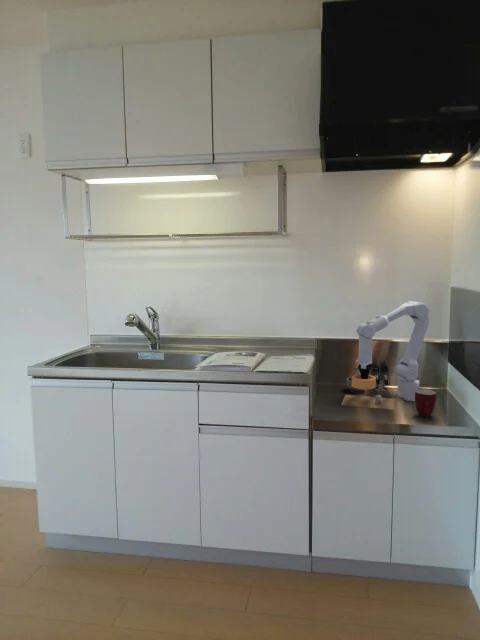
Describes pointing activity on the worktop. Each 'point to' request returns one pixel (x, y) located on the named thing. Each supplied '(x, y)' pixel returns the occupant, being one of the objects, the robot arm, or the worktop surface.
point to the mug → (425, 402)
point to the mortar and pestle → (349, 383)
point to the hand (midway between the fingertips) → (364, 381)
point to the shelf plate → (369, 401)
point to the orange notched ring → (363, 382)
